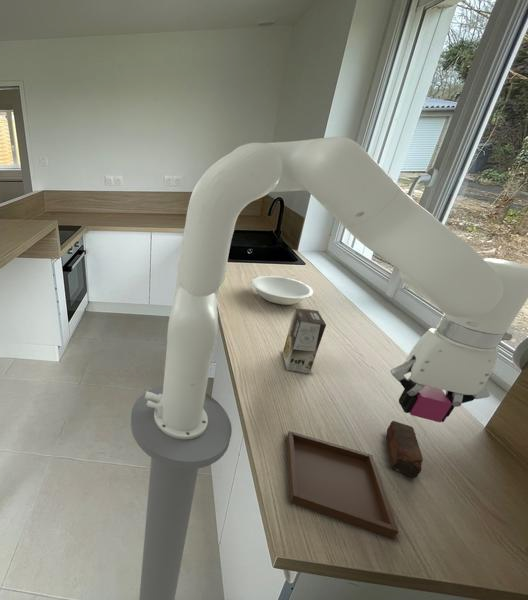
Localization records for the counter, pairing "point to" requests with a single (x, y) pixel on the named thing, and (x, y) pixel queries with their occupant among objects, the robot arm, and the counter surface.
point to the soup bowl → (281, 289)
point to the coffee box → (303, 340)
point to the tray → (338, 484)
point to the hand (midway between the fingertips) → (420, 411)
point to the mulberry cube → (431, 404)
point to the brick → (403, 449)
